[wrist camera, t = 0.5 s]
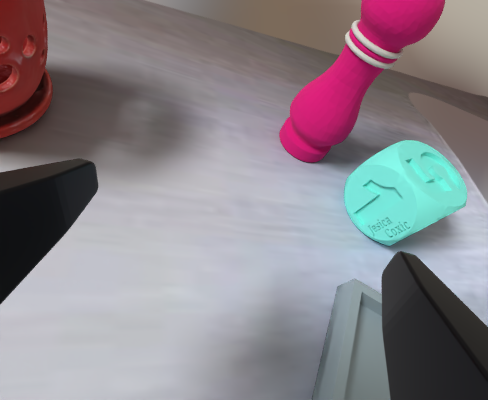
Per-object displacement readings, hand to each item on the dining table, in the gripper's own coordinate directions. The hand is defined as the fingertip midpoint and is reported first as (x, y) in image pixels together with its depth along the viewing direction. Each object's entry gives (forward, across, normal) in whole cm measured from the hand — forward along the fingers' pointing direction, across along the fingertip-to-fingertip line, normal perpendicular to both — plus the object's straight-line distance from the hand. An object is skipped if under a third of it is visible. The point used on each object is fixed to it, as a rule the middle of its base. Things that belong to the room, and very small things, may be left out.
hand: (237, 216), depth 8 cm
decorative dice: (+23, -13, +12) cm, 29 cm away
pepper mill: (+27, -3, +8) cm, 29 cm away
